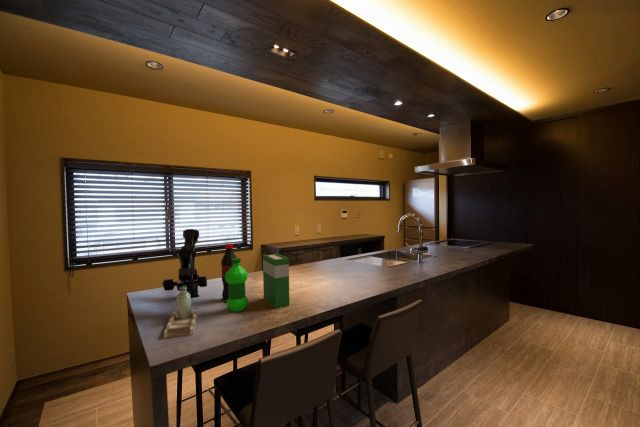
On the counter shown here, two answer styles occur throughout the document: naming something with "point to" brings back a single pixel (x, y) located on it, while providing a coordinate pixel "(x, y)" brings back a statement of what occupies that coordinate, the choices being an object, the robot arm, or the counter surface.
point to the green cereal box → (276, 280)
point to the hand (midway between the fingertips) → (184, 299)
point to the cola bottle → (226, 268)
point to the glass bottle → (184, 303)
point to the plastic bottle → (236, 286)
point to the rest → (180, 325)
